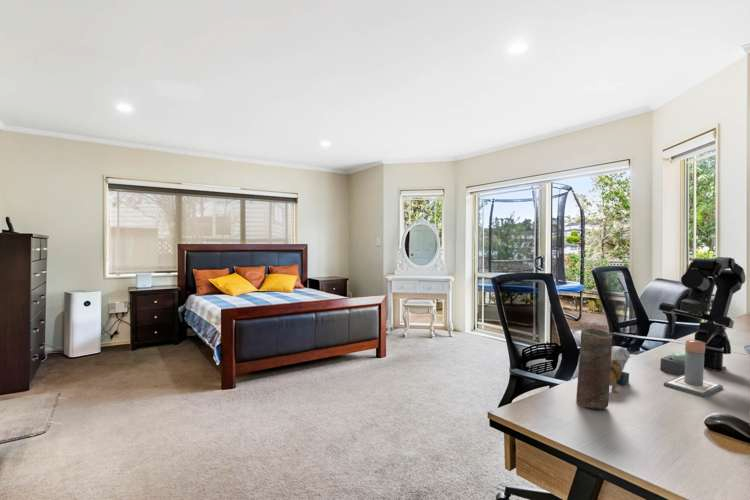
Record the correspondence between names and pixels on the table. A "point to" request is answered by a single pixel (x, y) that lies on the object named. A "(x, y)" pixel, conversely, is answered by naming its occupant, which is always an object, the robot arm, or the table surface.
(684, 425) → the table surface
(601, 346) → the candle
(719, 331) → the robot arm
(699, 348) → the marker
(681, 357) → the button
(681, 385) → the board
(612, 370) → the lion figurine
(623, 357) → the watch
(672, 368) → the button housing
